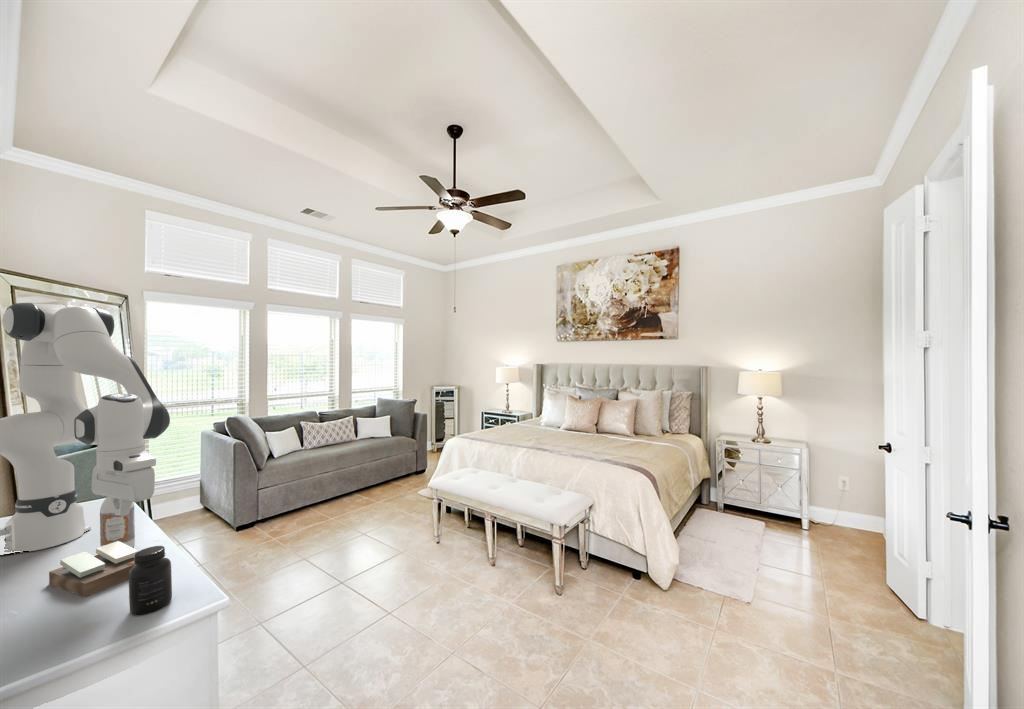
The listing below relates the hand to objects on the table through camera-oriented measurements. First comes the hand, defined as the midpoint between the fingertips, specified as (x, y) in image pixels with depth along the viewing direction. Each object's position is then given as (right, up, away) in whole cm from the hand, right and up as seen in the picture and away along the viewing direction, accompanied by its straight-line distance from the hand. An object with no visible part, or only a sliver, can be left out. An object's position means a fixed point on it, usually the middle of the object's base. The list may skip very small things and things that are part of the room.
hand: (122, 514), depth 101 cm
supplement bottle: (+20, -14, -15) cm, 29 cm away
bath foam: (-14, -15, +13) cm, 24 cm away
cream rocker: (-2, -10, +1) cm, 11 cm away
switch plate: (-4, -15, -2) cm, 15 cm away
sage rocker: (-5, -10, -5) cm, 12 cm away
